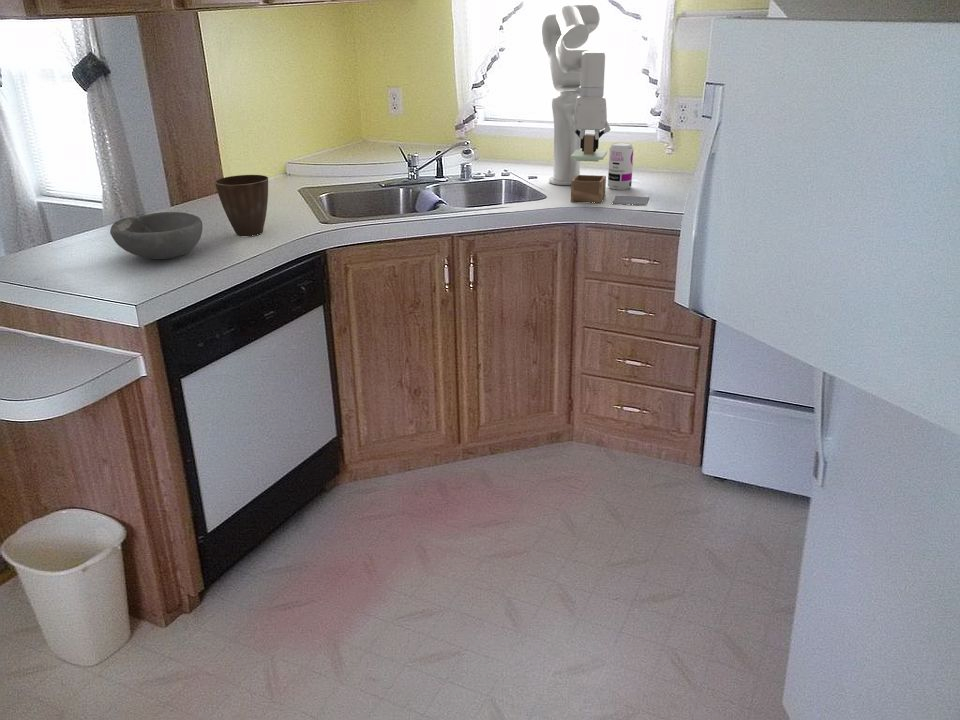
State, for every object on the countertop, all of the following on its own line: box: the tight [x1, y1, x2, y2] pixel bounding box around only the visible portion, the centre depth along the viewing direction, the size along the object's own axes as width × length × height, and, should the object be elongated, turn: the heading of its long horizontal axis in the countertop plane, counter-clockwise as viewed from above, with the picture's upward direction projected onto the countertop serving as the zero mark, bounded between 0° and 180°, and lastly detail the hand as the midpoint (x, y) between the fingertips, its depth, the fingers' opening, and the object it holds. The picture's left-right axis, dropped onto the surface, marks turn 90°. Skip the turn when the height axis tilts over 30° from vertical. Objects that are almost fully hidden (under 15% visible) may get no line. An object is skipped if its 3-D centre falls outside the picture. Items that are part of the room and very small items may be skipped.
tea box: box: [570, 174, 607, 204], centre depth 270 cm, size 10×10×7 cm
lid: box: [570, 133, 608, 163], centre depth 265 cm, size 10×10×8 cm
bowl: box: [109, 211, 203, 260], centre depth 219 cm, size 23×22×10 cm
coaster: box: [611, 195, 650, 206], centre depth 268 cm, size 11×11×1 cm
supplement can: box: [607, 142, 634, 191], centre depth 284 cm, size 8×8×15 cm
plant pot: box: [214, 174, 269, 237], centre depth 237 cm, size 15×15×16 cm
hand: (589, 150), depth 266 cm, fingers closed on lid, 3 cm apart
